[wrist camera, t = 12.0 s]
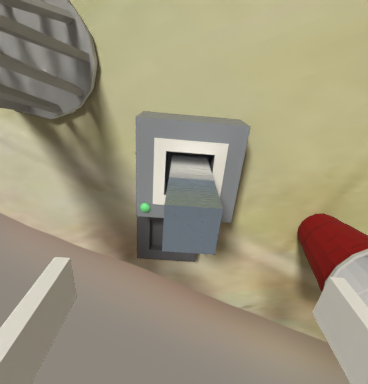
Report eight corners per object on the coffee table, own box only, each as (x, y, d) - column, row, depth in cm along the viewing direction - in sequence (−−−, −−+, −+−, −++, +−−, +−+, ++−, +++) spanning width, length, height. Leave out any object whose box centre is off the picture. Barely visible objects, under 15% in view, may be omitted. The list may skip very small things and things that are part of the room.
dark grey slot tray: (139, 200, 33) (137, 207, 32) (200, 205, 34) (201, 212, 32) (139, 249, 37) (137, 258, 35) (194, 253, 38) (194, 261, 36)
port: (143, 111, 28) (135, 117, 23) (239, 119, 28) (251, 127, 24) (142, 198, 33) (136, 217, 28) (224, 204, 34) (231, 224, 29)
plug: (173, 148, 29) (164, 204, 15) (204, 150, 29) (223, 208, 16) (171, 177, 31) (162, 251, 17) (201, 179, 31) (214, 254, 17)
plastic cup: (369, 217, 35) (453, 278, 24) (317, 264, 39) (369, 335, 28) (316, 184, 32) (384, 235, 21) (267, 237, 36) (303, 303, 25)
